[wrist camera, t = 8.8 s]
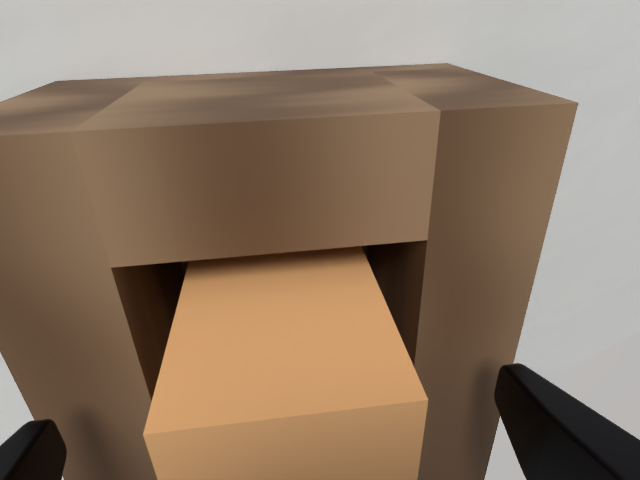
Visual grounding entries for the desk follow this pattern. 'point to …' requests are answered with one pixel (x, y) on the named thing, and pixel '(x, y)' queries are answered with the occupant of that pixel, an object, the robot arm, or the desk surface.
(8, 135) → the socket
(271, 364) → the peg
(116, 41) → the desk surface
